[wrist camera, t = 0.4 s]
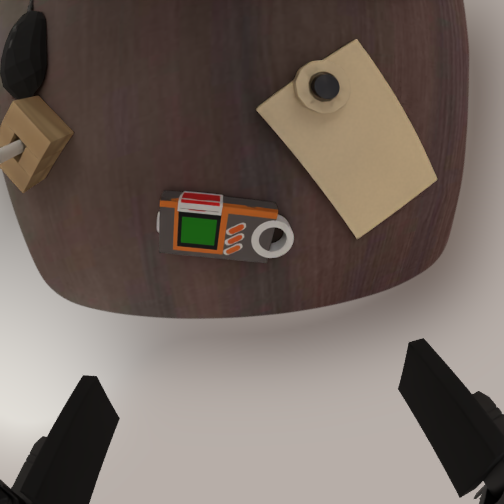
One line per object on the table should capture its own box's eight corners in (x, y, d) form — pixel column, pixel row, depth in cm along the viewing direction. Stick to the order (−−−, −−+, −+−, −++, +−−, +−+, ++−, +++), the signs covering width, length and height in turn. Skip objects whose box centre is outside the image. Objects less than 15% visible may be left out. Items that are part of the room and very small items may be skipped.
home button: (325, 70, 23) (329, 69, 21) (340, 89, 24) (344, 90, 22) (305, 83, 23) (308, 83, 22) (321, 103, 24) (325, 104, 23)
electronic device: (287, 266, 34) (155, 254, 31) (283, 252, 36) (160, 240, 34) (301, 213, 30) (155, 197, 28) (295, 202, 33) (161, 187, 30)
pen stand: (38, 95, 23) (12, 100, 19) (74, 132, 26) (50, 142, 22) (12, 142, 25) (-12, 153, 21) (45, 178, 29) (23, 193, 24)
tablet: (349, 35, 22) (358, 32, 20) (432, 176, 30) (443, 183, 28) (250, 104, 26) (251, 105, 24) (354, 235, 35) (361, 245, 32)
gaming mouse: (52, -15, 15) (34, -21, 12) (49, 90, 23) (29, 94, 20) (16, 4, 15) (-3, 2, 12) (14, 104, 23) (-6, 110, 19)
